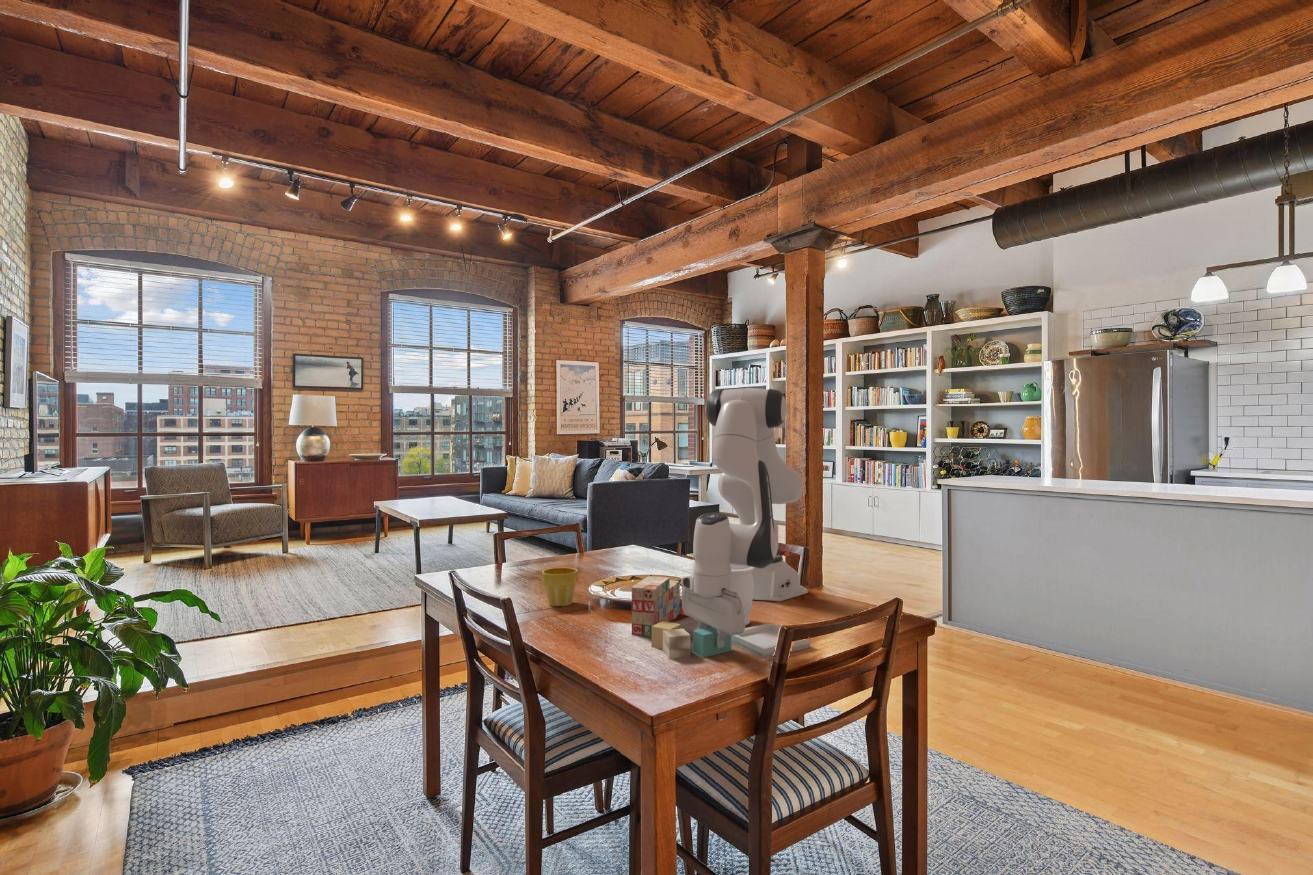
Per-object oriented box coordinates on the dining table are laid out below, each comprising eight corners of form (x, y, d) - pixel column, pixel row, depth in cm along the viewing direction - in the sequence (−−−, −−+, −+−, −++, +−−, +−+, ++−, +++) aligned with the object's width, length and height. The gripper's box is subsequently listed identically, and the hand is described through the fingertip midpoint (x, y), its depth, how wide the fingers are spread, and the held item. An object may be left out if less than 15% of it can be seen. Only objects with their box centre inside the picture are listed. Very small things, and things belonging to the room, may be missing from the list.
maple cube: (683, 649, 158) (683, 628, 158) (690, 656, 153) (690, 635, 153) (662, 651, 156) (662, 630, 156) (669, 659, 152) (669, 637, 151)
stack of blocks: (659, 611, 189) (658, 568, 188) (680, 613, 187) (680, 569, 186) (631, 635, 168) (631, 586, 168) (655, 637, 166) (654, 588, 166)
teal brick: (720, 645, 160) (720, 624, 160) (731, 650, 157) (731, 629, 156) (693, 651, 156) (693, 630, 156) (703, 657, 152) (703, 635, 152)
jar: (724, 614, 186) (724, 560, 185) (759, 620, 180) (760, 564, 180) (707, 624, 177) (707, 567, 176) (744, 630, 171) (744, 572, 171)
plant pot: (546, 598, 202) (546, 566, 202) (580, 599, 202) (580, 566, 202) (538, 608, 192) (538, 574, 192) (575, 608, 191) (574, 574, 191)
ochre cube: (663, 641, 164) (663, 620, 164) (680, 644, 161) (680, 624, 161) (651, 647, 160) (651, 626, 159) (669, 651, 157) (669, 629, 157)
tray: (770, 631, 171) (770, 622, 171) (809, 647, 159) (809, 638, 159) (726, 641, 163) (726, 632, 163) (763, 658, 151) (763, 648, 151)
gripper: (751, 592, 149) (751, 654, 149) (698, 573, 166) (698, 629, 166) (728, 596, 145) (728, 659, 146) (677, 577, 163) (677, 633, 163)
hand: (712, 643), depth 156 cm, fingers closed on teal brick, 4 cm apart
